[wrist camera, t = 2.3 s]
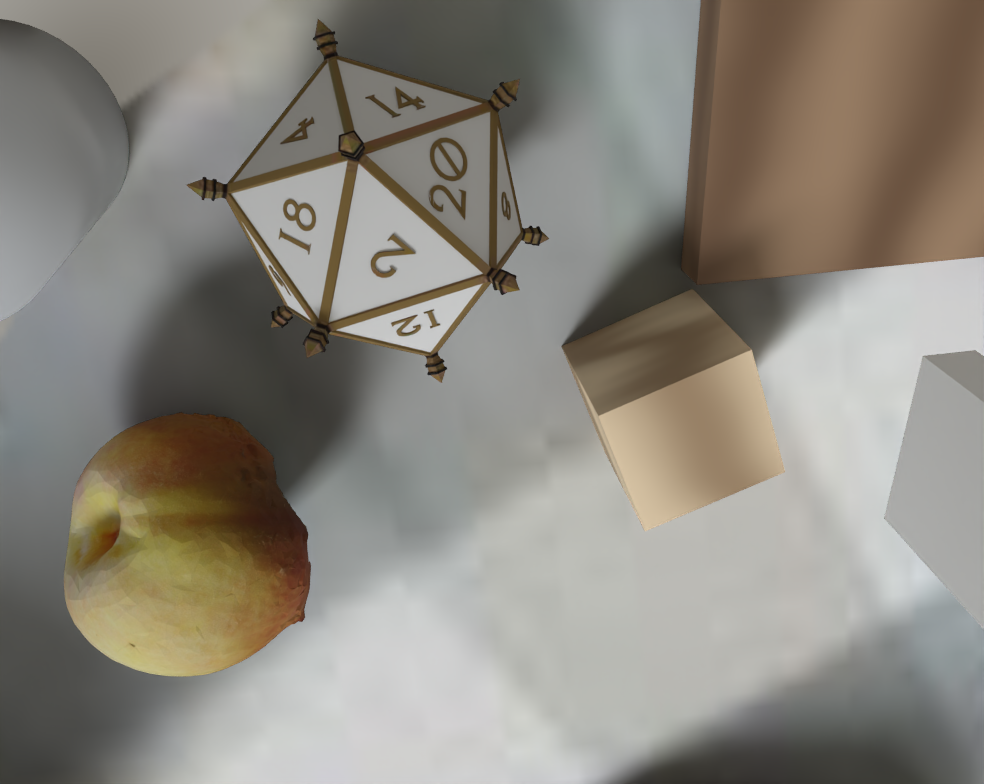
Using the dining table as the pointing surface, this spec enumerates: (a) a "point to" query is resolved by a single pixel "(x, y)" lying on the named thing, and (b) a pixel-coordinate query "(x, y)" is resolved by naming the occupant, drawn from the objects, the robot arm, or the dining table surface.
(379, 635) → the dining table surface
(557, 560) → the dining table surface
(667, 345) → the beech block
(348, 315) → the game die
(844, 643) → the dining table surface
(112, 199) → the white rounded cylinder
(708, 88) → the board
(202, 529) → the fruit
